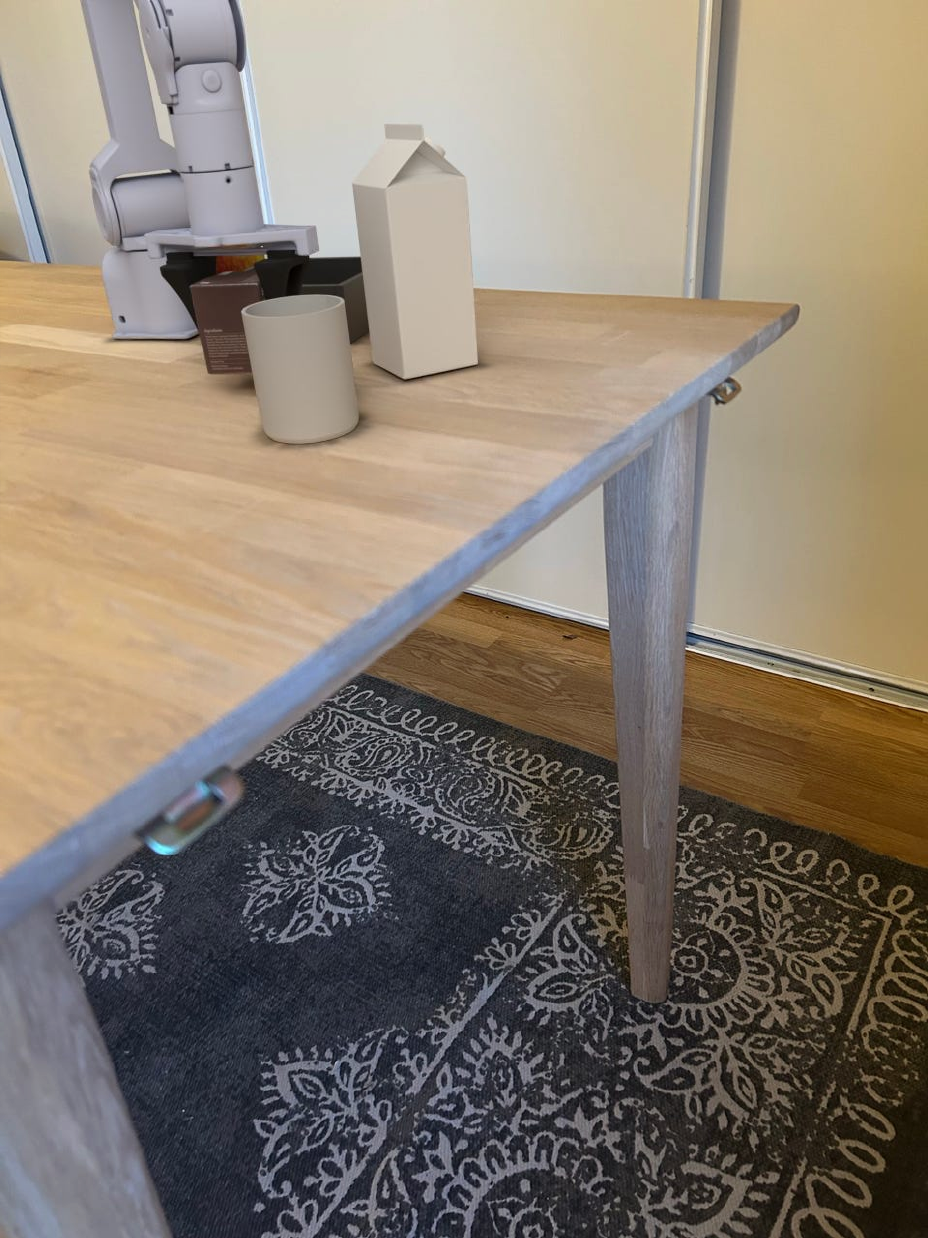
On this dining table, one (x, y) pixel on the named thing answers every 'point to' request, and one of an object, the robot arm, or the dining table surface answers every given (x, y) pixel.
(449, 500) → the dining table surface
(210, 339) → the box
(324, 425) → the cup
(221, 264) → the fruit
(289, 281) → the robot arm
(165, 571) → the dining table surface
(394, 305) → the milk carton
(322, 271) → the dark grey square container
